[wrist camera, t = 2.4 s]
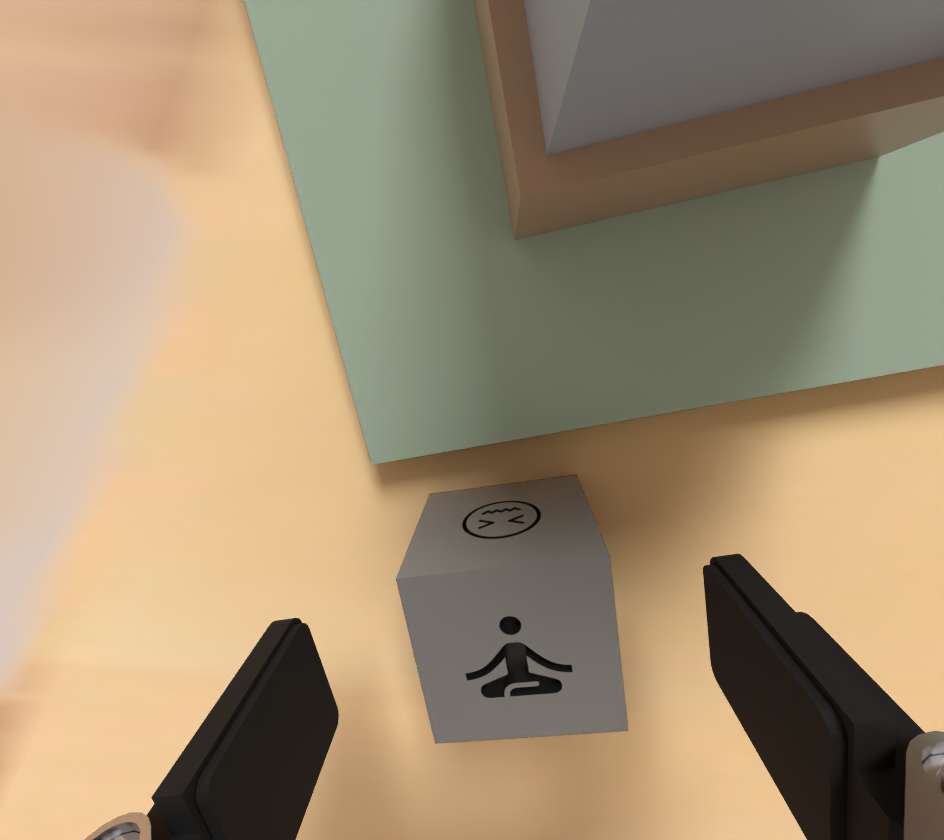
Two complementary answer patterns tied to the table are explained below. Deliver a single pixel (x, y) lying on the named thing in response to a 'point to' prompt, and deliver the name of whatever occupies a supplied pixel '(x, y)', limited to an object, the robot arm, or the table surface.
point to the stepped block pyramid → (611, 202)
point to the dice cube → (513, 614)
